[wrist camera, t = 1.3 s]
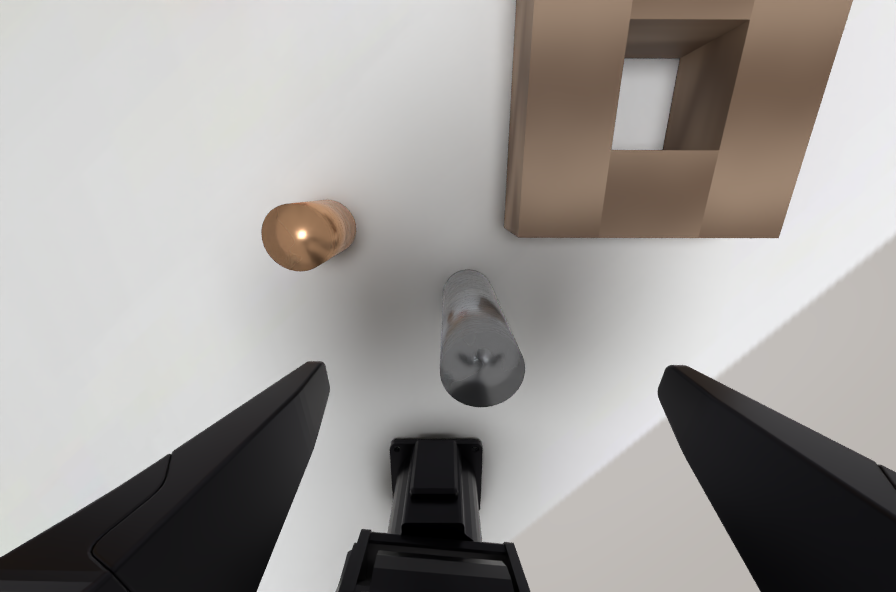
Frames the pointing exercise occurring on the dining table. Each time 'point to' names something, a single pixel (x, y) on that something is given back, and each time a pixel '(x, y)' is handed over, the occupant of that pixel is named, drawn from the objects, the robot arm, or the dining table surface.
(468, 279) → the long pin
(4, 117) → the dining table surface
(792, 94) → the hole block
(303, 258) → the short pin
